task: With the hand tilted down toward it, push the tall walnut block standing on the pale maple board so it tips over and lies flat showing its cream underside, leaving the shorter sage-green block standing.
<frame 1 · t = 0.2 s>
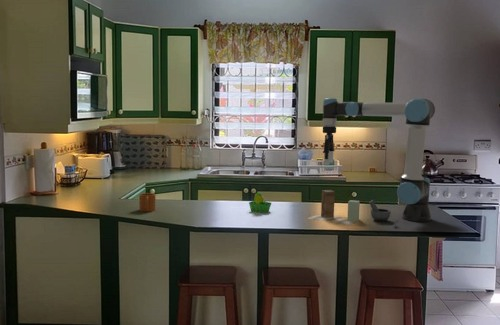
hand: (328, 163, 301), 28 cm above the countertop, tool pointing down, fingers open, 13 cm apart
maple board: (333, 222, 277), on the countertop
fruit basket: (259, 212, 301), on the countertop
mortar and pestle: (378, 223, 277), on the countertop
sage-green block: (353, 220, 276), point 1 cm above the countertop, touching maple board
mug: (146, 211, 296), on the countertop
walnut block: (327, 217, 282), point 1 cm above the countertop, touching maple board
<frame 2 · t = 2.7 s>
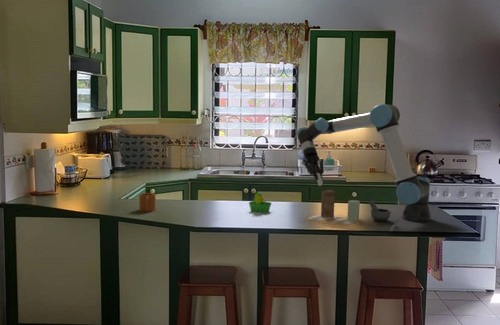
hand: (320, 184, 289), 18 cm above the countertop, tool tilted 45°, fingers closed
nothing on the countertop moved.
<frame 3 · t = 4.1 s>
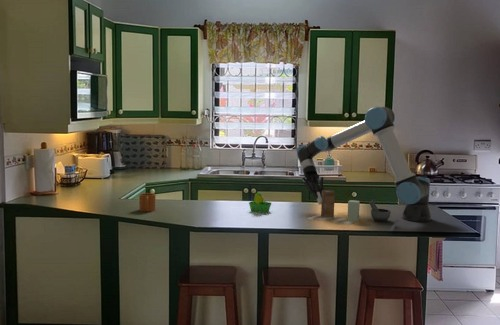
hand: (320, 203, 290), 8 cm above the countertop, tool tilted 45°, fingers closed
nothing on the countertop moved.
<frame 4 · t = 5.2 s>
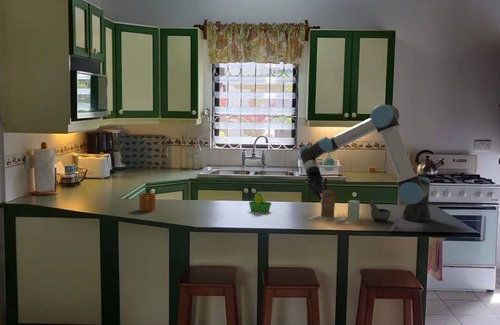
hand: (324, 204, 285), 8 cm above the countertop, tool tilted 45°, fingers closed
walnut block: (327, 216, 282), point 2 cm above the countertop, touching gripper, maple board
everything else where it was.
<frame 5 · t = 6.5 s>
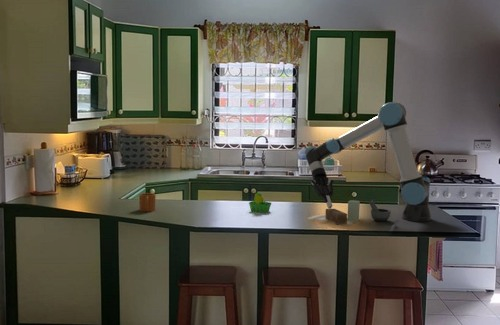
hand: (330, 207, 278), 8 cm above the countertop, tool tilted 45°, fingers closed
walnut block: (329, 213, 279), point 4 cm above the countertop, tilted 90°, touching gripper, maple board
everything else where it was.
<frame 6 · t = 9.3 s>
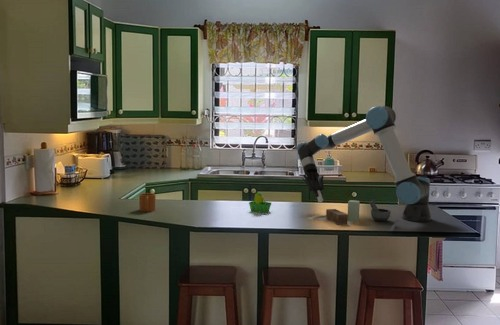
hand: (320, 201, 291), 8 cm above the countertop, tool tilted 45°, fingers closed
walnut block: (330, 213, 279), point 4 cm above the countertop, tilted 90°, touching maple board
everything else where it was.
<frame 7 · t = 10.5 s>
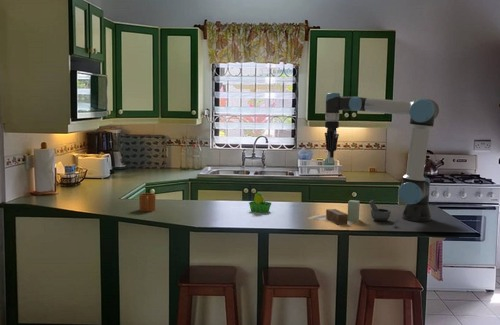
hand: (330, 163, 298), 28 cm above the countertop, tool pointing down, fingers closed
nothing on the countertop moved.
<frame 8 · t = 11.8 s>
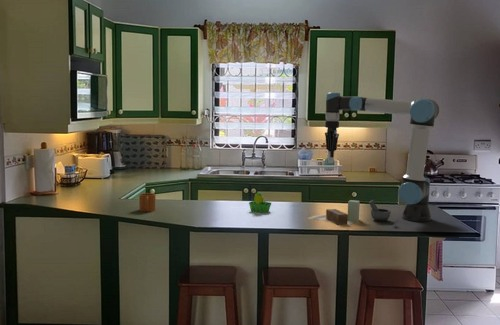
hand: (330, 162, 298), 28 cm above the countertop, tool pointing down, fingers closed
nothing on the countertop moved.
at the end: walnut block tilted 90°; walnut block inside the target area (4.4 cm from its centre), point 4.0 cm above the countertop; sage-green block tilted 0° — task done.
